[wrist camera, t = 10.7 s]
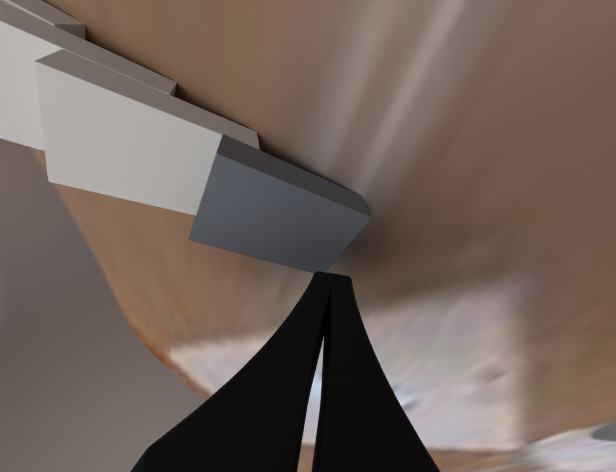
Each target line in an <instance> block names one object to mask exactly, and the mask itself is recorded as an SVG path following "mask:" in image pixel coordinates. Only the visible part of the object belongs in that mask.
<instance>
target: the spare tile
mask: <svg viewBox="0 0 616 472" xmlns="http://www.w3.org/2000/svg"><path fill="white" fill-rule="evenodd" d="M371 219H372V216H371V214H370V212H369V210H368V208H367V206H366V204H365V202H364V200H363V198H362V196H361V195H359V194H356V193H354V192H352V191H350V190H348V189H345V188H343V187H341V186H339V185H336V184H334V183H332V182H330V181H327V180H325V179H323V178H321V177H318V176H316V175H314V174H312V173H310V172H307V171H305V170H303V169H301V168H298V167H296V166H294V165H292V164H289V163H287V162H285V161H283V160H280V159H278V158H276V157H274V156H271V155H269V154H267V153H265V152H263V151H260V150H258V149H256V148H254V147H251V146H249V145H247V144H245V143H242V142H240V141H238V140H236V139H233V138H231V137H229V136H227V135H225V134H223V135H222V138H221V141H220V144H219V146H218V149H217V152H216V155H215V158H214V161H213V165H212V168H211V171H210V174H209V177H208V180H207V183H206V186H205V189H204V192H203V196H202V199H201V202H200V205H199V208H198V211H197V214H196V217H195V220H194V223H193V227H192V230H191V233H190V236H189V239H188V240H191V241H194V242H198V243H202V244H206V245H210V246H213V247H217V248H221V249H225V250H229V251H232V252H236V253H240V254H244V255H248V256H251V257H255V258H259V259H263V260H267V261H270V262H274V263H278V264H282V265H285V266H289V267H293V268H297V269H301V270H304V271H308V272H312V273H315V272H317V271H320V272H326V271H327V270H328V269H329V268H330V266H331V265H332V264H333V263H334V262H335V261H336V259H337V258H338V257H339V256H340V255H341V254H342V252H343V251H344V250H345V249H346V248H347V247H348V245H349V244H350V243H351V242H352V241H353V240H354V238H355V237H356V236H357V235H358V234H359V233H360V231H361V230H362V229H363V228H364V227H365V226H366V224H367V223H368V222H369V221H370V220H371Z"/></svg>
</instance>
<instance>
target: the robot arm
mask: <svg viewBox="0 0 616 472" xmlns="http://www.w3.org/2000/svg"><path fill="white" fill-rule="evenodd" d="M323 337H324V348H323V368H322V387H321V401H320V411H319V419H318V427H317V435H316V442H315V450H314V457H313V465H312V472H440V470H439V469H438V467H437V466H436V464H435V462H434V461H433V459H432V458H431V456H430V454H429V453H428V451H427V450H426V448H425V446H424V445H423V443H422V441H421V440H420V438H419V436H418V435H417V433H416V431H415V429H414V428H413V426H412V424H411V422H410V421H409V419H408V417H407V416H406V414H405V412H404V410H403V409H402V407H401V405H400V403H399V402H398V400H397V398H396V396H395V394H394V392H393V390H392V388H391V386H390V384H389V382H388V380H387V378H386V376H385V374H384V372H383V370H382V368H381V366H380V364H379V362H378V359H377V357H376V355H375V353H374V350H373V348H372V345H371V343H370V341H369V338H368V335H367V333H366V330H365V328H364V325H363V322H362V319H361V316H360V313H359V310H358V307H357V303H356V299H355V295H354V291H353V286H352V279H351V278H350V277H349V276H345V275H338V274H332V273H326V272H320V271H317V272H315V273H314V275H313V278H312V280H311V282H310V284H309V286H308V287H307V289H306V291H305V292H304V294H303V296H302V297H301V299H300V300H299V302H298V303H297V304H296V306H295V307H294V309H293V310H292V312H291V313H290V314H289V316H288V317H287V318H286V320H285V321H284V322H283V323H282V325H281V326H280V327H279V328H278V330H277V331H276V332H275V333H274V335H273V336H272V337H271V338H270V339H269V340H268V341H267V343H266V344H265V345H264V346H263V347H262V348H261V349H260V350H259V351H258V352H257V353H256V355H255V356H254V357H253V358H252V359H251V360H250V361H249V362H248V363H247V364H246V365H245V366H244V367H243V368H242V369H241V370H240V371H239V372H238V373H237V374H235V375H234V376H233V377H232V378H231V379H230V380H229V381H228V382H227V383H226V384H225V385H224V386H222V387H221V388H220V389H219V390H218V391H217V392H216V393H214V394H213V395H212V396H211V397H210V398H209V399H208V400H207V401H205V403H203V404H202V405H201V406H200V407H199V408H197V409H196V410H195V411H194V412H193V413H191V414H190V415H189V416H188V417H186V418H185V419H184V420H182V421H181V422H180V423H179V424H177V425H176V426H175V427H174V428H172V429H171V430H170V431H169V432H167V433H166V434H165V435H163V436H162V437H161V438H160V439H158V440H157V441H156V442H155V443H153V444H152V445H151V446H150V447H149V448H148V449H147V450H146V451H145V453H144V454H143V455H142V457H141V458H140V459H139V460H138V462H137V463H136V465H135V466H134V468H133V469H132V470H131V472H297V468H298V462H299V456H300V450H301V443H302V437H303V431H304V424H305V418H306V412H307V406H308V401H309V396H310V391H311V387H312V383H313V379H314V375H315V370H316V366H317V362H318V358H319V354H320V350H321V346H322V341H323Z"/></svg>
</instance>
